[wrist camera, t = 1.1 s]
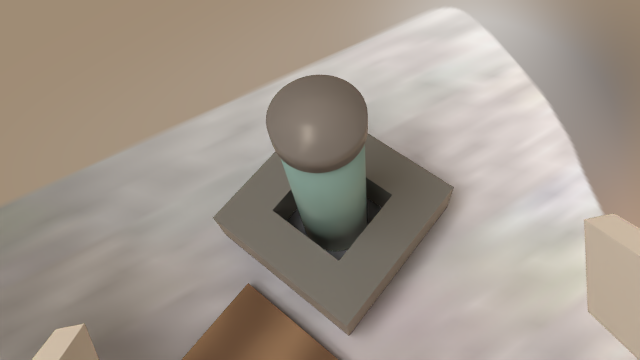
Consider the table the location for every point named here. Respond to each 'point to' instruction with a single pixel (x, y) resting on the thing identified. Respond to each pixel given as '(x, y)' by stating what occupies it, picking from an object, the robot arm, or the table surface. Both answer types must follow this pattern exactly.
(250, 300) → the pad
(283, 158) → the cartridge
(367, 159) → the housing
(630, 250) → the robot arm
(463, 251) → the table surface
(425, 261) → the table surface
